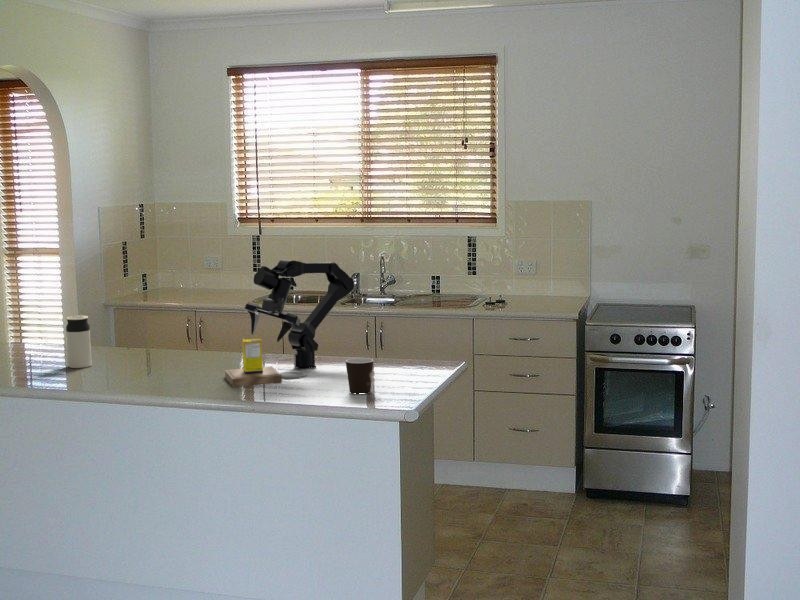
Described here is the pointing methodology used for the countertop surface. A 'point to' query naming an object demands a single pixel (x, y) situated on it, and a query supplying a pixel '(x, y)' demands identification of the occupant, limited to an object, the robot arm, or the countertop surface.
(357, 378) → the coffee mug
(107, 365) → the countertop surface
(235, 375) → the walnut stand
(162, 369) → the countertop surface
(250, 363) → the supplement box
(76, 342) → the travel mug
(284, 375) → the grey coaster
